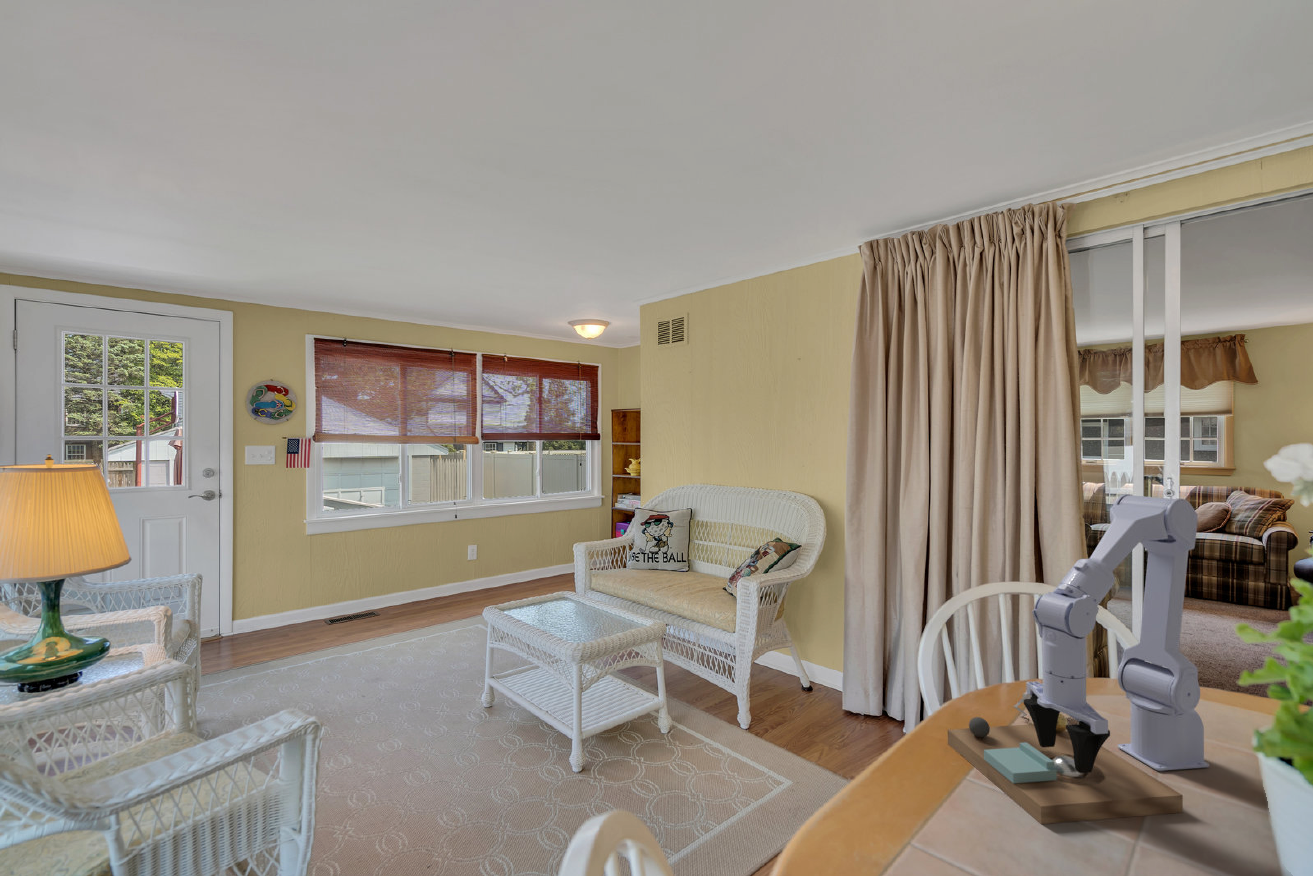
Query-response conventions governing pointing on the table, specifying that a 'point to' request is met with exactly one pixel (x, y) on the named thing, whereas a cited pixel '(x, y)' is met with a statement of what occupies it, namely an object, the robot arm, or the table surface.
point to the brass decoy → (1061, 723)
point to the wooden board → (1070, 780)
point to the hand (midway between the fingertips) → (1064, 758)
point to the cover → (1021, 764)
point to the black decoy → (979, 727)
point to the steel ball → (1066, 767)
